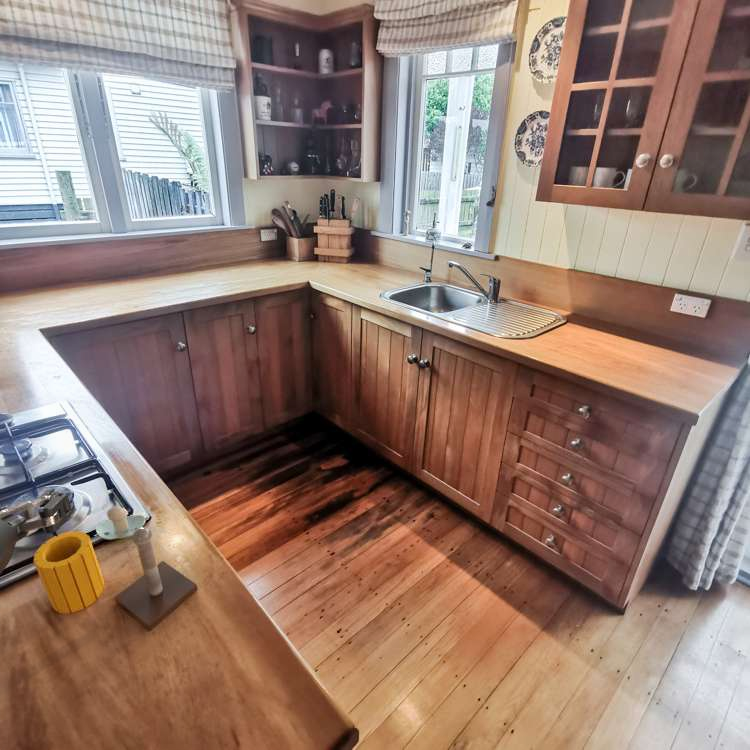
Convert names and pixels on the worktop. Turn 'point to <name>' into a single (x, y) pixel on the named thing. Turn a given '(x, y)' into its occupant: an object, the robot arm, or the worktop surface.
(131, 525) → the pacifier
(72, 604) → the yellow grooved hollow cylinder
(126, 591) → the stand
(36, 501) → the robot arm
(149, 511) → the worktop surface
